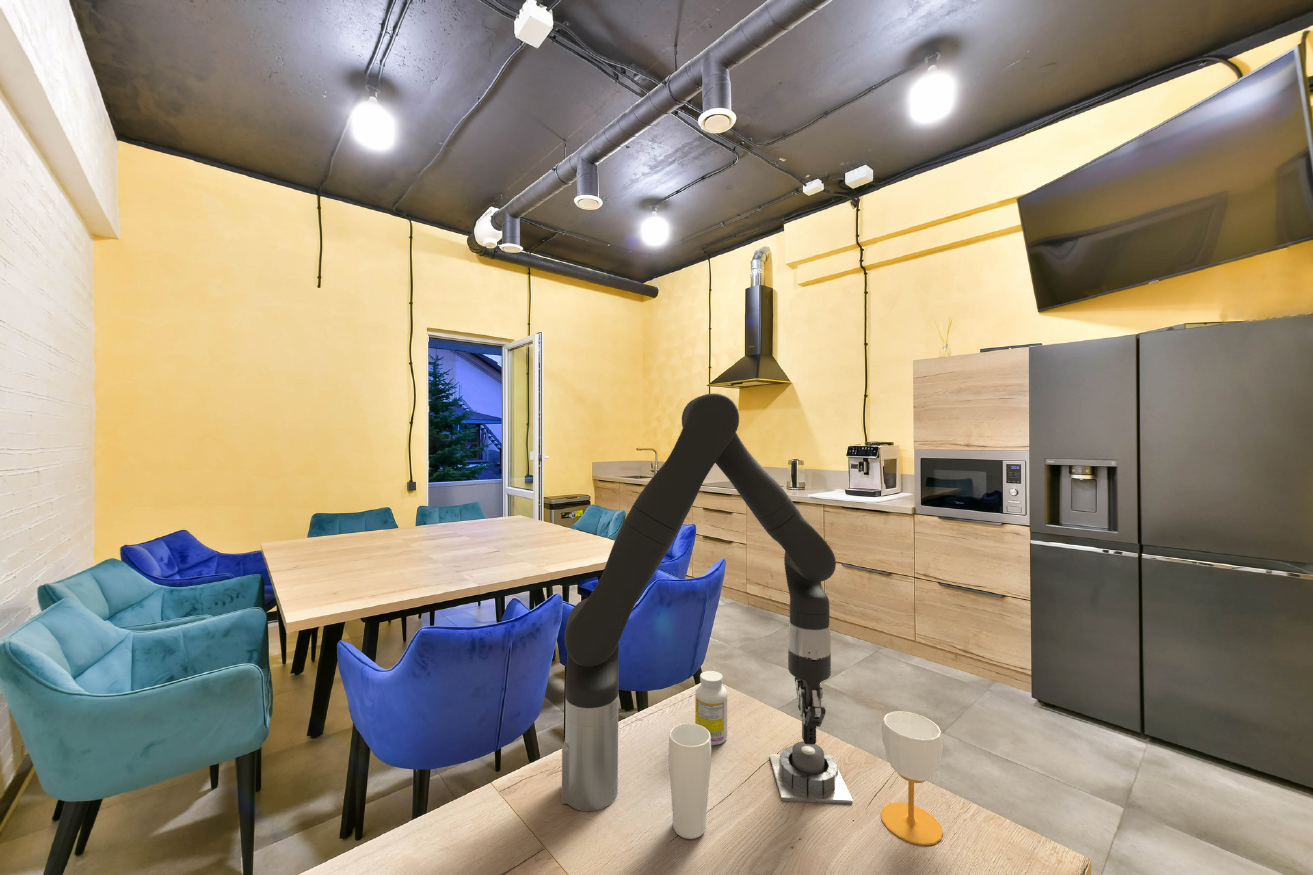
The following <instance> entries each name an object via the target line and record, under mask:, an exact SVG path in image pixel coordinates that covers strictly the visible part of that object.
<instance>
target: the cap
mask: <svg viewBox="0 0 1313 875" xmlns="http://www.w3.org/2000/svg"><path fill="white" fill-rule="evenodd" d="M792 746H793V748H792V766H793V767H794V768H795V769H796V770H797V771H800V772H803V773H806V774H811V775H819V774H822V773H824V752H825V751H824V750H823V748H822V747H821V746H820V745H819V744H805V743H804V741H797V742H796V743H794V744H793V745H792Z"/></svg>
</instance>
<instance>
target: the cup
mask: <svg viewBox="0 0 1313 875" xmlns="http://www.w3.org/2000/svg"><path fill="white" fill-rule="evenodd" d="M882 720H883V721H882V725H881V736H882V737H881V738H882V744H883V747H884V751H885V755H886V758H887V760H888V762H889V764H890V765H889V766H891V768H892V769H893V770H894V772H895V773H897V774H898V776H899V777H900V778H901V779H903V780H905V781H906V782H908V789H907V790H908V794H907V800H908V801H907V803H906V802H902V801H901V802H900V801H899V802H890V803H888V804H886V805H883V807H882V809H881V811H880V813H879V814H880V818H881V822H882V824H884V826H885V827H886V829H887V830H889V831H890V832H891V833H892V834H893V835H895V836H896V837H897V838H898V839H901V840H903V841H905V842H908V843H910V844H915V845H918V846H934V845H936V844H937V843H939V842H940V841H942V837H943V835H944V831H943V829H942V826H941V823H940V822H939V821H938V820H937V819H936V818H935V817H934V815H932V814H930V813H929V812H928V811H926V810H925V809H923V808H921V807H919V806H916V805H915V784H923V782H927V781H929V780H930V779H932V778H933V777H934V776H935V774H936V773H937V771H938V768H939V765H940V762H941V759H942V756H943V748H944V747H943V745H944V742H943V735H942V731H941V729H940V727H939V725H937V724H936V723H935V722H934V721H933V720H931V719H929V718H927V717H925V716H923V715H921V714H919V713H918V714H917V713H914V712H910V711H902V710H900V711H897V710H896V711H890V712H888V713H886V714H885V715H884V716H883V719H882Z"/></svg>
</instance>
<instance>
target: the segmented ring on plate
mask: <svg viewBox="0 0 1313 875" xmlns="http://www.w3.org/2000/svg"><path fill="white" fill-rule="evenodd" d="M792 748H793V745H792V746H789V747H786V748H784V749H783V750H782V751H781V753H780V754H779V753H769V755H768V756H769V762H770V764H771V767H772V772H773V774H774V778H775V783H776V786H777V789H778V792H779V797H780V799H781V802H799V803H800V802H802V803H803V802H804V803H825V804H826V803H827V804H828V803H829V804H847V805H848V804H851V805H852V804H853V798H852V796H851V794H850V792H849V790H848V787H847V785H846V783H845V781H844V779H843V778H842V775H841V773H840V771H839V766H838V764H837V763H836V760H835V758H834V757H833V756H832V755H830V754H828V753H827V752H826V751H824V773H822V774H819V775H811V774H806V773H803V772H800V771H797V770H796V769H795V768H794V767H793V766H792Z"/></svg>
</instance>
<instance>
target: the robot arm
mask: <svg viewBox="0 0 1313 875" xmlns="http://www.w3.org/2000/svg"><path fill="white" fill-rule="evenodd" d="M739 424H740V413H739V409H738V407H737V405H736V403H735V402H734V401H733V399H731V398H730V397H728V395H725V394H722V393H715V392H714V393H706V394H703V395H700V396H697V397H695V398H693V399H692V400H690V401H689V402H688V403H687V404H686V405H685V406H684V408H683V411H682V415H681V427H682V429H681V432H680V434H679V436H678V438H677V440H676V442H675V445H674V447H673V449H672V450H671V452H670V454H669V456H668V458H667V459H666V461H665V462H664V463H663V465H662V466H661V467H660V468H659V470H658V471H657V472H656V473H655V474H654V475H653V477H652V478H651V479H650V480H649V482H647V484H646V485H645V486H644V487H643V490H642V491H641V492H640V493H639V495H638V496H637V497H636V499H635V501H634V502H633V505H632V506H631V507H630V510H629V512H628V513H627V515H626V517H625V518H624V519H623V520H624V521H623V523H622V524H621V526H620V528H619V531H618V533H617V535H616V538H615V539H614V542H613V545H612V547H611V550H610V553H609V555H608V558H607V561H606V564H605V566H604V570H603V572H602V574H601V576H600V578H599V580H598V582H597V584H596V585H595V587H594V589H593V590H592V591H591V593H590V595H589V596H588V597H587V598H584V599H583V600H582V599H581V600H580V601H579V602H577V604H576V605H575V606H574V607H573V608H572V609H571V611H570V613H569V615H568V619H567V622H566V626H565V630H564V646H565V649H566V653H567V655H566V673H565V674H566V675H565V684H564V685H565V693H564V694H565V724H564V725H565V728H564V730H565V732H564V733H565V734H564V736H565V737H564V740H563V741H564V742H563V745H562V747H561V804H563V805H565V804H566V805H568V806H570V807H572V809H575V810H578V811H583V812H595V811H599V810H602V809H604V808H606V807H607V806H610V805H611V804H612V803H613V802H614V801H615V799H616V798H617V795H618V787H619V785H618V784H619V776H618V775H619V687H620V685H619V683H620V682H619V680H620V679H619V678H620V677H619V676H620V674H619V670H620V667H619V665H620V663H619V657H620V656H619V654H620V653H619V648H620V645H619V644H620V640H621V637H622V635H623V633H624V630H625V627H626V625H627V623H628V621H629V619H630V617H631V615H632V612H633V609H634V608H635V606H636V604H637V601H638V600H639V598H640V596H641V594H642V592H643V591H644V589H645V588H646V586H647V585H648V584H649V582H650V580H651V579H652V577H653V575H655V573H656V571H657V570H658V568H659V566H660V565H661V563H662V561H663V559H664V558H665V556H666V555H667V553H668V552H669V549H671V546H672V544H673V543H674V541H675V539H676V537H677V535H678V534H679V531H681V528H682V526H683V524H684V522H685V520H686V518H687V516H688V515H689V512H690V510H691V509H692V506H693V504H694V502H695V501H696V499H697V496H698V494H699V491H700V489H701V487H702V485H703V483H704V482H705V480H706V478H707V477H708V475H709V473H710V472H711V470H712V468H714V466H715V465H716V466H717V467H718V468H719V469H720V471H721V472H722V473H723V474H724V475H725V477H726V478H727V479H728V480H729V481H730V483H731V485H732V486H733V488H735V490H736V491H737V492H738V494H739V496H740V497H741V498H742V500H743V502H744V504H746V506H747V508H749V510H750V511H751V512H752V514H753V516H754V517H755V518H756V519H757V521H758V522H759V524H760V525H761V526H762V528H763V529H764V530H765V532H767V534H768V535H769V537H771V539H773V540H774V541H775V542H776V543H778V544H779V545H780V547H781V548H782V549H783V551H784V557H783V558H784V560H783V562H784V570H785V571H784V572H785V577H786V584H787V588H788V593H789V625H788V632H787V654H788V655H787V669H788V672H789V673H790V674H791V675H792V676H793V677H794V682H795V690H796V691H795V692H796V699H797V707H798V708H797V709H798V710H799V711H800V714H799V716H800V718H801V739H802V742H804V743H805V744H816V743H817V728H820V727H821V726H822V724H823V721H824V719H825V716H826V708H825V706H822V699H823V698H824V697H823V695H824V694H823V693H824V691H823V687H822V686H821V683H822V682H824V681H826V680H828V679H829V678H830V677H831V675H832V665H831V664H832V639H831V638H832V636H831V629H830V617H831V616H830V612H831V611H830V600H829V597H828V594H827V593H826V591H825V590H824V588H823V586H822V582H824V581H825V582H826V581H827V580H828V579H830V578H831V577H832V576H833V575H834V573H835V571H836V566H837V561H836V556H835V553H834V552H833V549H832V548H831V547H830V545H829V543H827V541H826V540H825V539H824V538H823V536H821V534H819V532H818V531H817V530H816V529H815V528H814V526H812V525H811V524H810V522H808V521H807V520H806V518H805V517H803V516H802V514H801V512H800V510H799V509H798V507H797V506H796V505H795V503H794V502H793V500H792V499H791V498H790V496H789V494H788V493H787V492H786V491H785V490H784V488H783V486H781V485H780V483H779V482H778V481H777V480H776V479H775V478H774V477H773V476H772V475H771V474H770V473H769V472H768V471H767V470H766V468H764V467H763V466H762V464H761V463H759V461H758V460H757V459H756V458H755V457H754V456H753V455H752V453H751V452H750V451H749V450H748V449H747V447H746V446H745V444H744V443H743V441H742V440H741V438H740V437H739V435H738V433H737V431H738V430H739ZM816 745H817V744H816Z"/></svg>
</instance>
